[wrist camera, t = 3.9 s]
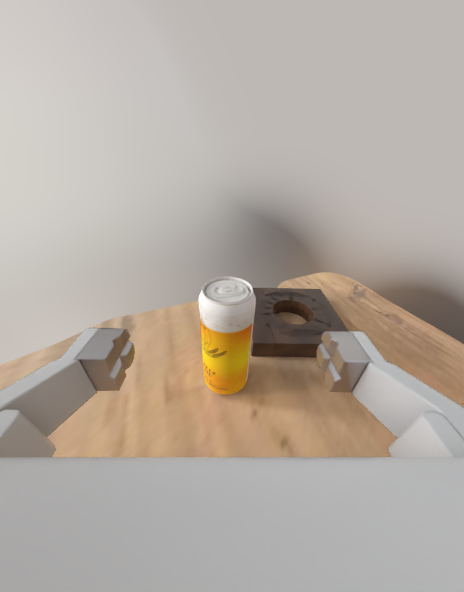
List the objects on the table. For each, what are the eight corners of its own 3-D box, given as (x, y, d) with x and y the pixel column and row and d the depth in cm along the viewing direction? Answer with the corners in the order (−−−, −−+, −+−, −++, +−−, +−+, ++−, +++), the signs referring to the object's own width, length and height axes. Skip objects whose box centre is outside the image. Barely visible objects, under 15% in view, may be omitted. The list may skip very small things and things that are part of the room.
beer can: (203, 362, 32) (197, 276, 24) (242, 359, 33) (250, 273, 25) (205, 400, 27) (198, 308, 19) (251, 395, 28) (263, 304, 20)
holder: (251, 356, 34) (253, 342, 32) (245, 299, 47) (246, 287, 45) (350, 357, 34) (357, 344, 32) (316, 300, 47) (320, 289, 46)
